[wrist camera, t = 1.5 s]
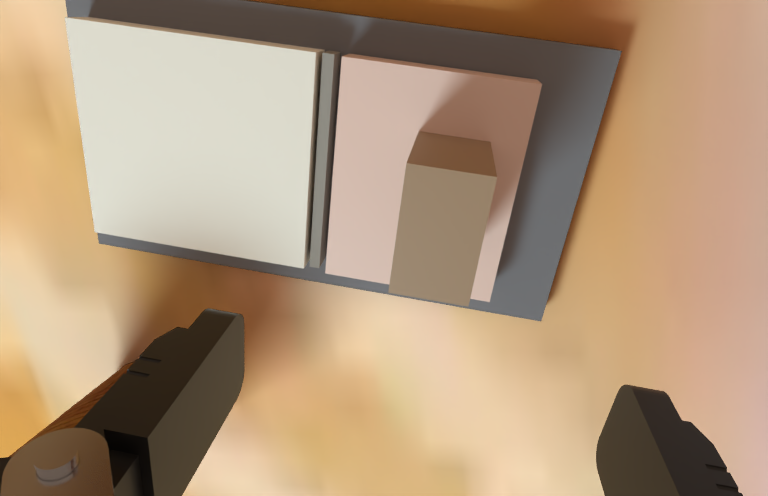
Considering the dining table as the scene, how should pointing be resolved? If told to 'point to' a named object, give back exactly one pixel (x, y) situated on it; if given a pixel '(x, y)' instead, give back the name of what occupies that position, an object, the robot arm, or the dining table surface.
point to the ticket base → (446, 49)
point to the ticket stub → (426, 175)
